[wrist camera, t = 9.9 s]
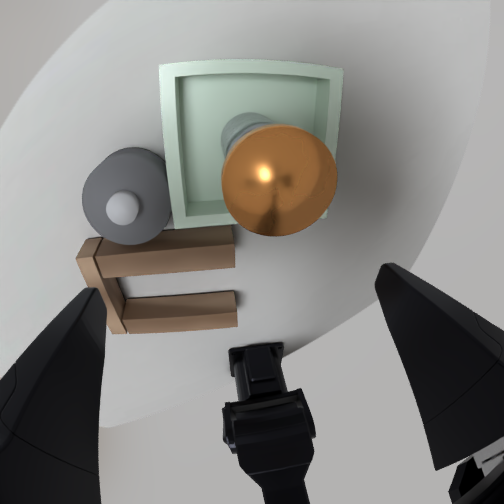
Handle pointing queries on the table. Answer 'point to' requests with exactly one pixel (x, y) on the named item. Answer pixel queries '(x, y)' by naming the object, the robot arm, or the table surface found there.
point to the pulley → (128, 196)
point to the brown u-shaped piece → (160, 262)
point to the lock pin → (275, 175)
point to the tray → (225, 108)
